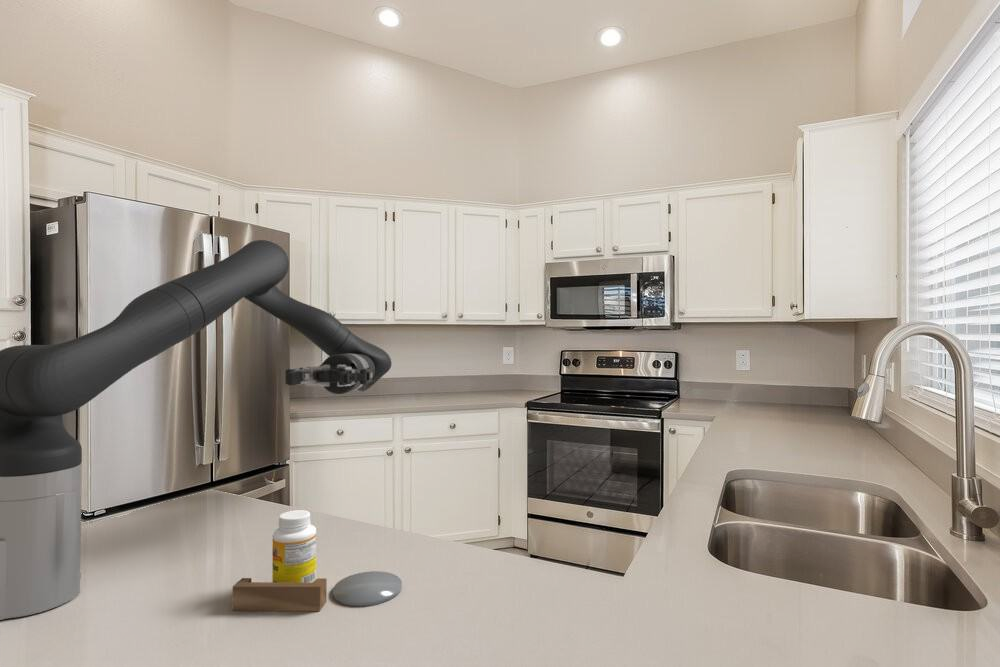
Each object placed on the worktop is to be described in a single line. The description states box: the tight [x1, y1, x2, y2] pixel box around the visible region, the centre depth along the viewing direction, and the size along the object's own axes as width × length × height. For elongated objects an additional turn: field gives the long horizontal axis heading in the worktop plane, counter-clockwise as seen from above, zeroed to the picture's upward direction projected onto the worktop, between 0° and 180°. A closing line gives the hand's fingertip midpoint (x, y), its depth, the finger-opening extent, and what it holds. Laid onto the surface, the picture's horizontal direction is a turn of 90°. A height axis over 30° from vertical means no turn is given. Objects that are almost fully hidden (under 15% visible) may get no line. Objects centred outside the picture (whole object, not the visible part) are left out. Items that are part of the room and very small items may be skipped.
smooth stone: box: [332, 570, 403, 608], centre depth 72 cm, size 9×9×1 cm
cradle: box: [232, 577, 328, 612], centre depth 68 cm, size 2×11×3 cm, turn 89°
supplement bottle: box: [271, 509, 317, 583], centre depth 72 cm, size 6×6×10 cm
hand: (315, 378), depth 87 cm, fingers open, 8 cm apart
